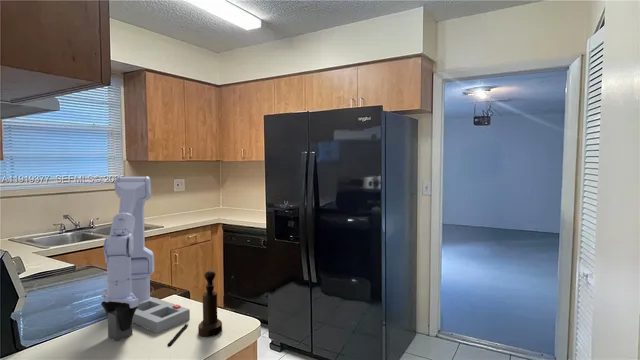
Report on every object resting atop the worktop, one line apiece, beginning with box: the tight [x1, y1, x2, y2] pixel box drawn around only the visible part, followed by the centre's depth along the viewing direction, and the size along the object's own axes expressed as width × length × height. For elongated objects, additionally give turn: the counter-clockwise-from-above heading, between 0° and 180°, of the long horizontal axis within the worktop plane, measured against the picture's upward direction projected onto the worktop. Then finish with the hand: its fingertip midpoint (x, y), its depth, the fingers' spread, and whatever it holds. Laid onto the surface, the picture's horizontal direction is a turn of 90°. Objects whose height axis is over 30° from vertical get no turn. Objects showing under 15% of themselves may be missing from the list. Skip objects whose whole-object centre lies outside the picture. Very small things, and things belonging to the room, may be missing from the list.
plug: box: [107, 310, 133, 342], centre depth 99 cm, size 4×4×7 cm
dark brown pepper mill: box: [197, 268, 223, 338], centre depth 101 cm, size 7×6×18 cm
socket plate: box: [132, 297, 191, 333], centre depth 110 cm, size 18×11×4 cm, turn 59°
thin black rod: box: [167, 323, 189, 347], centre depth 100 cm, size 12×1×1 cm, turn 179°
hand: (120, 327), depth 99 cm, fingers open, 5 cm apart
